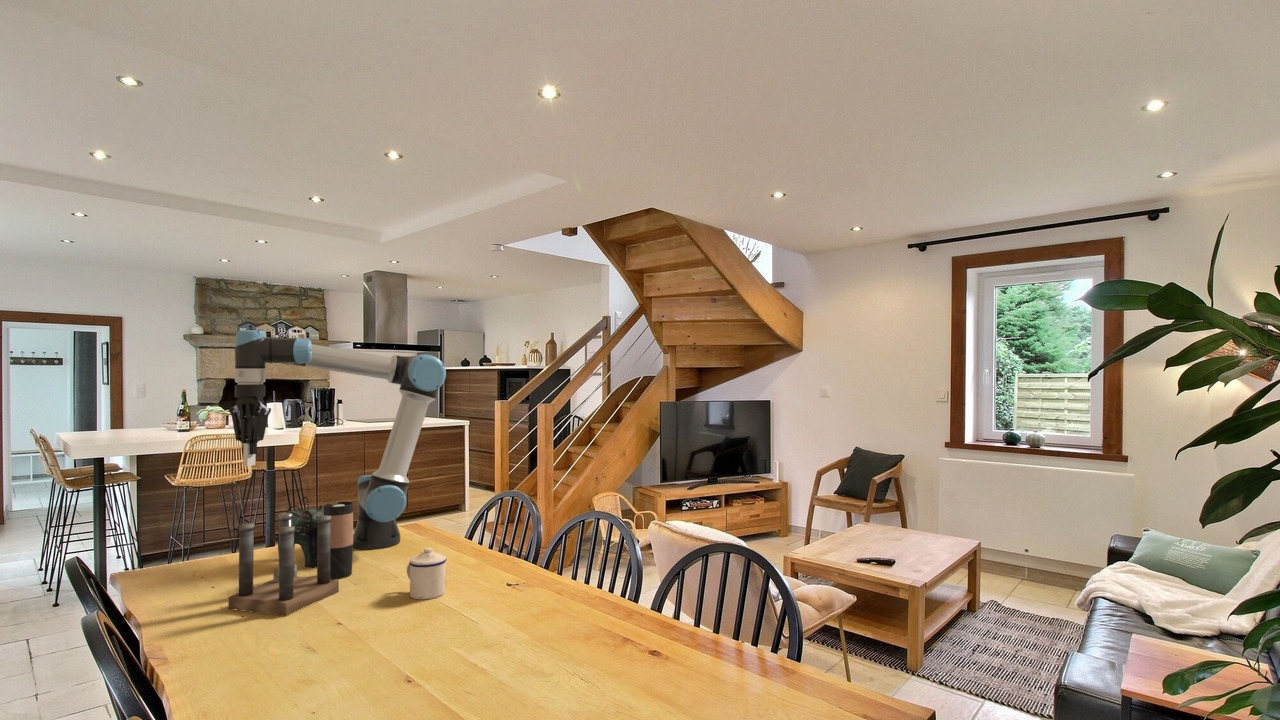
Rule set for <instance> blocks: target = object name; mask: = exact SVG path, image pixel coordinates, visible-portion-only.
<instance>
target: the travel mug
mask: <svg viewBox="0 0 1280 720" xmlns="http://www.w3.org/2000/svg"><path fill="white" fill-rule="evenodd" d="M323 510H324V516H331V534H330V580H341V579H345V578H348V577H350V576H351V575H353V574H352V573H353V558H354V557H353V555H354V552H353V551H354V547H353V534H354V503H353V501H338V502H337V503H335V504H334V503H333V504H331V503H330V502H328V503H325V504H324V505H323Z"/></svg>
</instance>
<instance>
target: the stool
mask: <svg viewBox="0 0 1280 720" xmlns="http://www.w3.org/2000/svg"><path fill="white" fill-rule="evenodd" d="M317 523H318V535H317V567H316V568H317V569H316V577H309V576H298V564H294V563H295V561H294V560H295V559H294V558H295V557H294V556H295V547H294V532H295V527H294V526H286V527H281V528H279V527H278V534H280V551H279V552H278V568H274V569H273V578H272V580H269V581H266V582H263V583H261V584H258V585H256V586H254V554H255V553H254V551H255V549H254V547H255V543H254V541H255V537H254V536H255V535H254V534H255V533H254V531H255V523H252V522H251V523H250V522H249V523H241V524H239V525H238V531H239V534H238V536H239V537H238V538H239V539H238V541H239V542H238V592H237V593H234V594H231V595H229V596H228V598H227V599H228V601H227V602H228V603H227V604H228V610H230V609H237V610H236V611H239V610H245V611H244V612H247V611H252V612H251V613H255V612H260V613H259V614H264V613H267V614H266V615H272V614H274V616H281V615H284V616H283V617H288V616H289V614H290V615H292V614H294V613H296V612H298V611H297V610H299V609H301V608H303V607H305V606H307V607H309V606H311V605H310V604H312V603H314V602H316V603H317V601H318V602H320V601H322V600H324V598H325V599H327V598H329V597H331V596H333V595H335V594H337V592H338V593H339V592H340V591H339V590H340V589H339V588H340V587H339V586H340V585H339V584H340V583H339V580H340V579H334V580H330V534H331V516H319V517H317ZM330 595H331V596H330ZM328 596H329V597H328ZM326 597H327V598H326ZM319 600H320V601H319ZM314 604H315V603H314ZM308 605H309V606H308ZM312 605H313V604H312ZM305 608H306V607H305ZM303 609H304V608H303ZM301 610H302V609H301ZM295 611H296V612H295ZM299 611H300V610H299ZM293 612H294V613H293ZM291 613H292V614H291ZM275 614H276V615H275ZM287 615H288V616H287Z"/></svg>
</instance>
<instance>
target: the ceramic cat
mask: <svg viewBox="0 0 1280 720" xmlns="http://www.w3.org/2000/svg"><path fill="white" fill-rule="evenodd" d="M305 499H306V502H307V508H306V509H302V508H300V507H299V506H298V505H292V506H290V507H288V508H287V510H286V512H285V513H293V519H292V526H294V527H295V532H294V548H295V547H296V545H298V546H300V548H301V550H302V552H303V555H304V567H305V568H309V569H315V568H317V535H318V523H317V517H319V516H324V508H323V505H322V504H320V505H319V506H317V508H316V506H315V505H313V506H312V507H311V508H310V506H309V498H308V497H307V496H304V497H302V498H301V501H302V502H303V501H304V500H305ZM294 508H297V510H291V509H294ZM309 508H310V509H309ZM290 510H291V511H290ZM277 551H278V553H279V533H278V534H277Z"/></svg>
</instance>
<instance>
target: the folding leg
mask: <svg viewBox="0 0 1280 720" xmlns="http://www.w3.org/2000/svg"><path fill="white" fill-rule="evenodd" d="M292 519H293V513H286V512H285V513H284V512H283V513H279V514H278V524H279V525H278V529H279V528H281V527H286V526H292ZM278 534H279V533H278ZM279 551H280V534H279Z"/></svg>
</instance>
